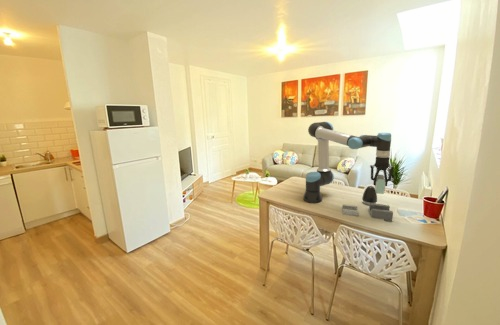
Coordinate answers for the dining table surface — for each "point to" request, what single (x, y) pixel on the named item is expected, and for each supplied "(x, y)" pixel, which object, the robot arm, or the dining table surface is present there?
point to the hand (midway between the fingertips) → (379, 190)
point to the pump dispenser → (369, 195)
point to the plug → (380, 184)
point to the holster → (350, 210)
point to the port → (380, 211)
